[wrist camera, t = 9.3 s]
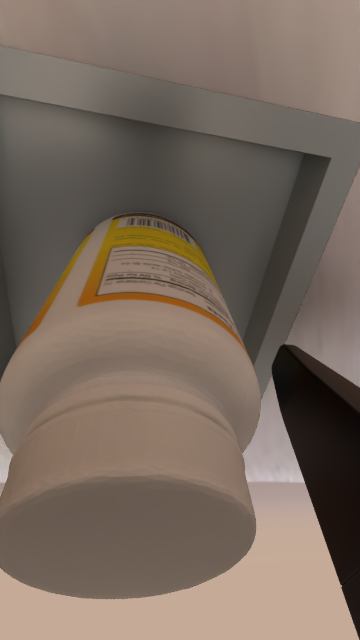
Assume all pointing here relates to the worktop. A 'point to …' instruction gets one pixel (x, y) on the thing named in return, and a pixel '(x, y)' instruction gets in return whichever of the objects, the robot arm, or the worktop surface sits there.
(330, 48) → the worktop surface
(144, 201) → the tray
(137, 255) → the supplement bottle
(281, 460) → the worktop surface
